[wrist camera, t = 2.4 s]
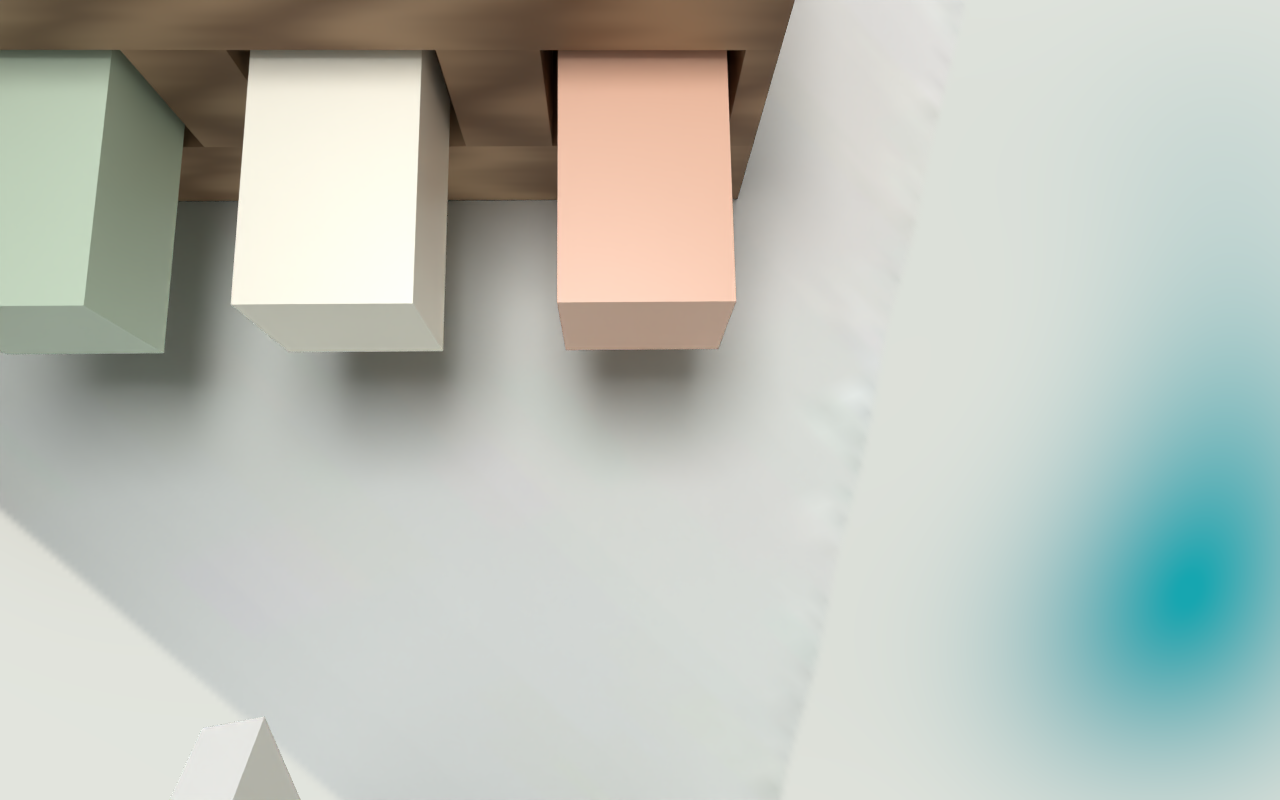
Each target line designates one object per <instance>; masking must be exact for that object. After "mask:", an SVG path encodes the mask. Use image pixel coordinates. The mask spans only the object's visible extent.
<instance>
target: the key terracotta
mask: <svg viewBox="0 0 1280 800" xmlns="http://www.w3.org/2000/svg"><path fill="white" fill-rule="evenodd" d="M735 303H736V285H735V258H734V232H733V205H732V178H731V151H730V124H729V97H728V71H727V50H558V201H557V304H558V310H559V315H560V321H561V326H562V332H563V337H564V343H565V348H566V350H644V349H718V348H719V345H720V343H721V340H722V337H723V335H724V332H725V329H726V327H727V324H728V321H729V319H730V316H731V313H732V311H733V308H734V306H735Z"/></svg>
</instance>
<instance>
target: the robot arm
mask: <svg viewBox="0 0 1280 800" xmlns="http://www.w3.org/2000/svg"><path fill="white" fill-rule="evenodd" d="M170 800H300V798H299V795H298V793H297V791H296V788H295V786H294V784H293V781H292V779H291V777H290V774H289V772H288V770H287V767H286V765H285V763H284V761H283V758H282V756H281V754H280V751H279V749H278V747H277V744H276V742H275V740H274V737H273V735H272V733H271V731H270V728H269V726H268V724H267V721H266V719H265V717H260V718H254V719H249V720H243V721H238V722H233V723H227V724H221V725H217V726H210V727H205V728H202V729H201V731H200V734H199V736H198V738H197V740H196V742H195V745H194V747H193V749H192V751H191V753H190V756H189V758H188V760H187V762H186V764H185V767H184V769H183V771H182V773H181V775H180V778H179V780H178V782H177V784H176V787H175V789H174V791H173V793H172V795H171V798H170Z"/></svg>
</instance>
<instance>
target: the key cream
mask: <svg viewBox="0 0 1280 800" xmlns="http://www.w3.org/2000/svg"><path fill="white" fill-rule="evenodd" d="M449 130H450V97H449V94H448V91H447V88H446V84H445V81H444V78H443V75H442V72H441V69H440V65H439V62H438V59H437V56H436V53H435V50H250V61H249V74H248V87H247V100H246V113H245V126H244V139H243V152H242V165H241V177H240V190H239V203H238V216H237V229H236V242H235V255H234V268H233V281H232V293H231V305H232V306H233V307H234V308H235V309H237V310H238V311H239V312H240V313H241V314H243V315H244V316H245V317H246V318H248V319H249V320H250V321H251V322H252V323H254V324H255V325H256V326H257V327H258V328H260V329H261V330H262V331H263V332H265V333H266V334H267V335H268V336H269V337H271V338H272V339H273V340H274V341H275V342H277V343H278V344H279V345H280V346H282V347H283V348H284V349H285V350H286V351H288V352H385V351H443V337H444V302H445V268H446V233H447V199H448V164H449Z"/></svg>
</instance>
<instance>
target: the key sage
mask: <svg viewBox="0 0 1280 800" xmlns="http://www.w3.org/2000/svg"><path fill="white" fill-rule="evenodd" d="M184 129H185V124H184V123H183V122H182V121H181V120H180V119H179V117H178V116H177V115H176V114H175V113H174V112H173V110H172V109H171V108H170V107H169V106H168V105H167V104H166V102H165V101H164V100H163V99H162V98H161V97H160V95H159V94H158V93H157V92H156V91H155V90H154V89H153V87H152V86H151V85H150V84H149V83H148V82H147V80H146V79H145V78H144V77H143V76H142V75H141V74H140V72H139V71H138V70H137V69H136V68H135V67H134V65H133V64H132V63H131V62H130V61H129V60H128V58H127V57H126V56H125V55H124V54H123V53H122V52H121V50H0V352H3V353H5V354H127V353H164V347H165V336H166V325H167V314H168V303H169V292H170V282H171V271H172V260H173V249H174V238H175V227H176V216H177V205H178V194H179V183H180V172H181V162H182V151H183V140H184Z"/></svg>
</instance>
